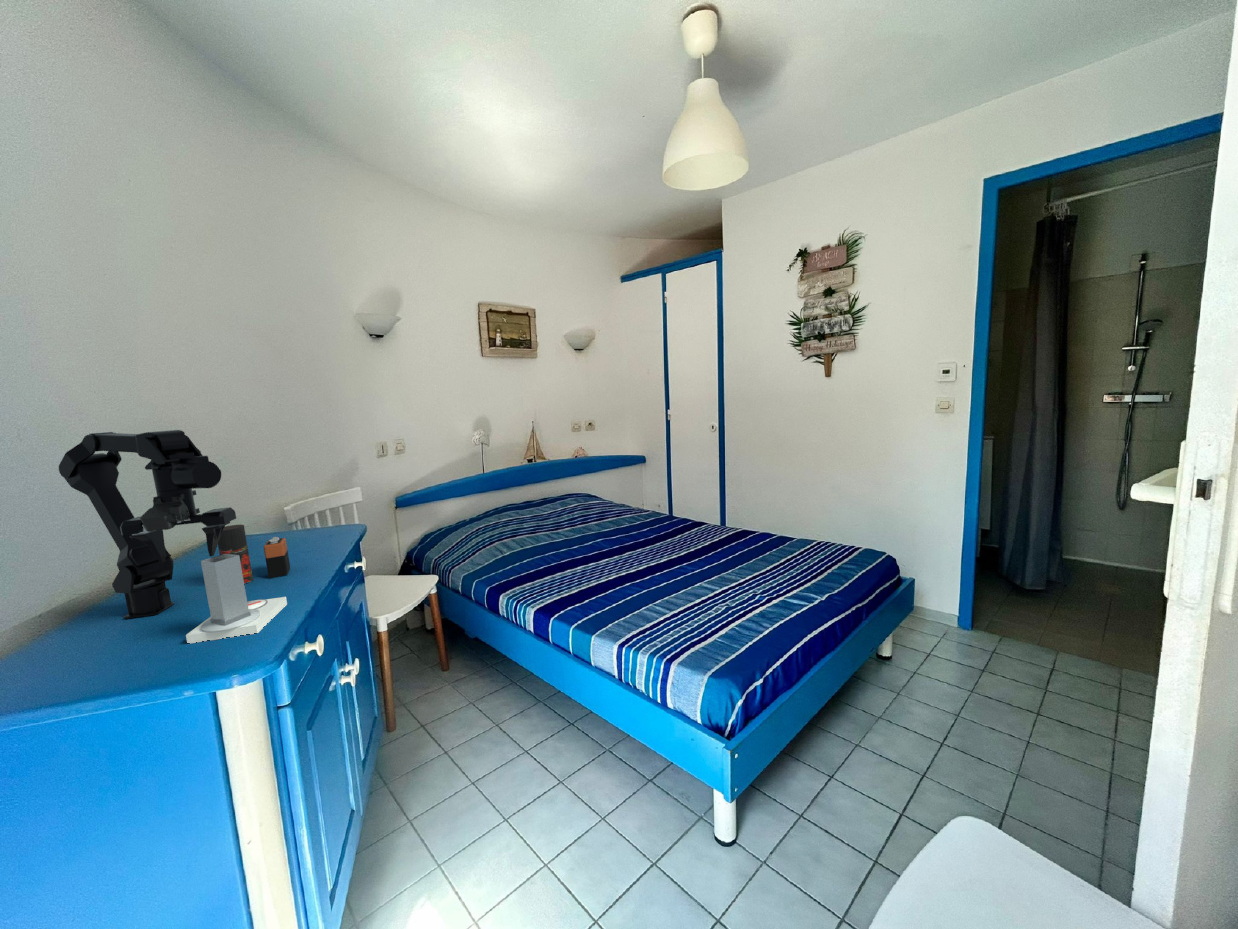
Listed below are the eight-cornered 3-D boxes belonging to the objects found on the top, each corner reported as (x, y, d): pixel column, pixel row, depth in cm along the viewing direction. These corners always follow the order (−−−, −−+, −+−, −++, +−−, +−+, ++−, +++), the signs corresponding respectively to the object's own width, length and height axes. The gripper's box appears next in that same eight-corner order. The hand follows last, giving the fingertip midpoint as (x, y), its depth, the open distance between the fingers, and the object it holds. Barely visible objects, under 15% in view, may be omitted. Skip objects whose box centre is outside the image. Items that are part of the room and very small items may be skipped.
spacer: (210, 622, 101) (199, 561, 99) (236, 612, 105) (226, 553, 103) (225, 625, 99) (213, 562, 97) (250, 615, 103) (240, 555, 101)
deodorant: (231, 588, 127) (220, 531, 125) (221, 585, 130) (211, 529, 128) (257, 580, 132) (248, 525, 130) (247, 577, 135) (238, 523, 133)
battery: (268, 579, 133) (262, 542, 131) (272, 571, 139) (266, 537, 137) (287, 575, 135) (282, 539, 133) (290, 568, 141) (285, 534, 139)
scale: (184, 645, 96) (182, 634, 96) (227, 612, 111) (225, 602, 111) (255, 635, 99) (253, 624, 99) (287, 604, 114) (285, 594, 114)
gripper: (92, 501, 97) (109, 577, 99) (203, 490, 101) (217, 564, 104) (132, 491, 108) (146, 560, 110) (231, 482, 112) (243, 549, 114)
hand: (187, 558), depth 109 cm, fingers open, 9 cm apart
